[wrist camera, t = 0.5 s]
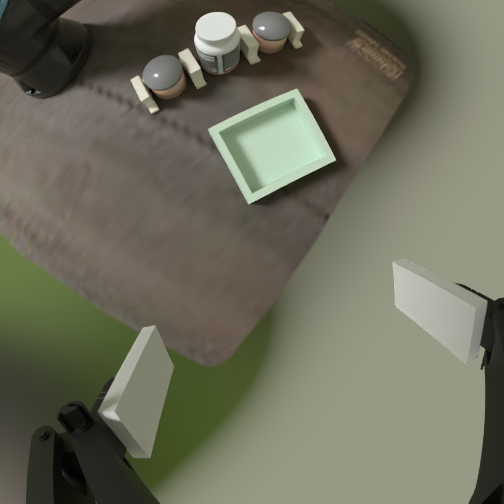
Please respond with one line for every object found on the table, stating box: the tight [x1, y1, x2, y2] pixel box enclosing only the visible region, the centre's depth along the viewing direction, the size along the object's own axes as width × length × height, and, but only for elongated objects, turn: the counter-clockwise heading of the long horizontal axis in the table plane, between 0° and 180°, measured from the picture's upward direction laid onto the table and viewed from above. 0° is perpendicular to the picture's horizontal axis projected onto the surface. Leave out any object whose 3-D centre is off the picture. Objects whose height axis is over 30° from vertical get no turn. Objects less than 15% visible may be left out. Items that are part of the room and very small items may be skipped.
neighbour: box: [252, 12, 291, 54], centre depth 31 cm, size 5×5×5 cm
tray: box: [208, 89, 336, 204], centre depth 35 cm, size 11×13×3 cm
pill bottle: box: [194, 12, 240, 74], centre depth 28 cm, size 6×6×10 cm
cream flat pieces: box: [131, 12, 304, 114], centre depth 31 cm, size 6×24×4 cm, turn 118°
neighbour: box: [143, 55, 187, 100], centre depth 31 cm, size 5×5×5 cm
